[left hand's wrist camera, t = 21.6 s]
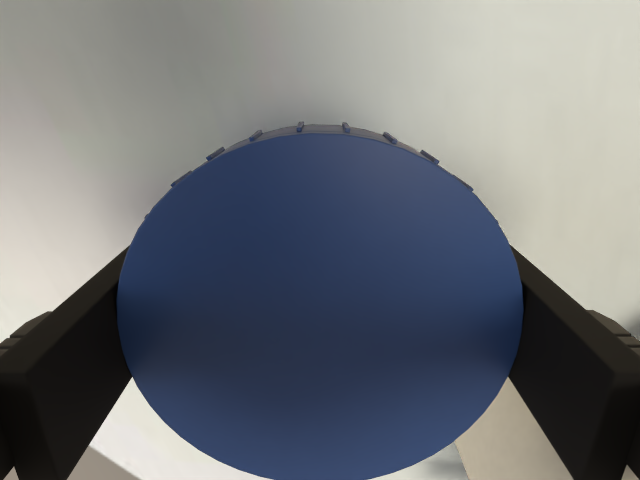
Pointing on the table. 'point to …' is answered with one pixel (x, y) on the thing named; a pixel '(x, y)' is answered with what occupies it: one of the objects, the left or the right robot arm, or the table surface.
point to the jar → (511, 444)
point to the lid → (319, 305)
